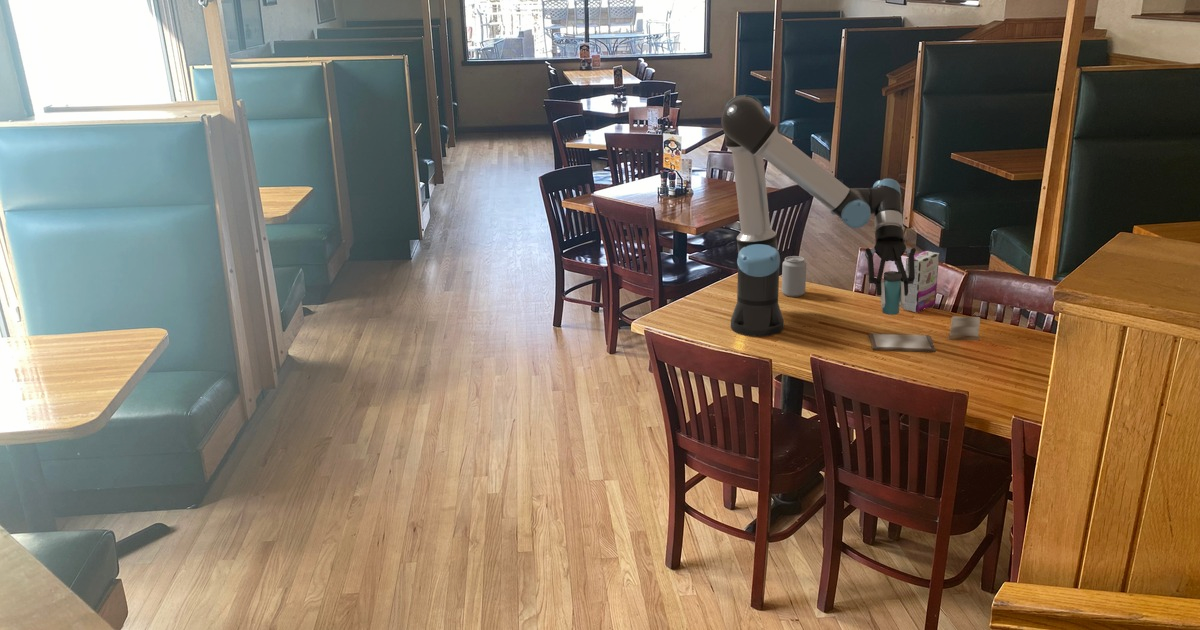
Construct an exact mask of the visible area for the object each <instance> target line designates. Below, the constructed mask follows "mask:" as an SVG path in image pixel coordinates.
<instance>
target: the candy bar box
mask: <svg viewBox="0 0 1200 630" xmlns="http://www.w3.org/2000/svg"><path fill="white" fill-rule="evenodd" d="M908 258H909V257H907V258H906V259H905V272H906V275H907V278H909V272H908ZM939 259H940V252H934V251H930V250H924V251H922V252H920V253H915V255H914V270H915V279H914V282H913V284H908V294H907V296H905V305H904V308H902V310H903V309H905V310H908V311H907V312H910V311H912V312H911V313H914V312H916V313H915V314H918V313H920V312H922V311H924V310H925V309H924V308H926V309H928V308H930V307H932V306H934V305H936V297H937V287H938V275H939V264H940V263H939V262H940V260H939ZM923 309H924V310H923ZM905 310H904V311H905ZM921 310H922V311H921ZM919 311H920V312H919ZM917 312H918V313H917Z"/></svg>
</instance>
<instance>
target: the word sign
mask: <svg viewBox="0 0 1200 630" xmlns="http://www.w3.org/2000/svg"><path fill="white" fill-rule="evenodd" d="M950 321H951V323H950V329H949V331H950V333H947V339H948V341H949V340H950V339H951V341H974V342H975V341H977V342H979V341H981V335H980V334H979V333H980V332H979V331H980V324H981V317H979V316H951V320H950Z"/></svg>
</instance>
